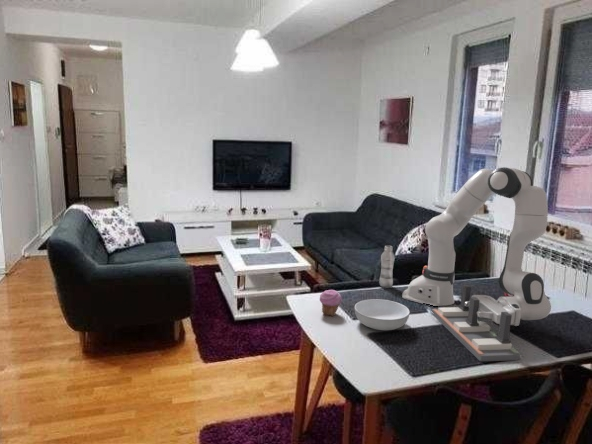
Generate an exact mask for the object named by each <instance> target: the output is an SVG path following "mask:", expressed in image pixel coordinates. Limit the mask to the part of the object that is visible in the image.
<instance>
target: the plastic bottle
mask: <svg viewBox="0 0 592 444" xmlns="http://www.w3.org/2000/svg"><path fill="white" fill-rule="evenodd" d="M393 248H394V247H393V245H388V244H387V245H386V244H385V245H384V251H383V252H382V254H381V255H380V263H381V265H380V267H381V268H380V269H381V270H380V276H379V281H378V284H379V285H380V287H382V288H391V287H392V286H393V284H394V278H393V269H394V263H395V258H396V257H395V254H394V252H393V250H394V249H393Z"/></svg>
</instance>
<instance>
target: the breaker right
mask: <svg viewBox="0 0 592 444" xmlns="http://www.w3.org/2000/svg"><path fill="white" fill-rule="evenodd" d="M511 317H512V315H511V314H509V313H508V312H501V318H500V324H499V326H498V334H497V335H498V336H496V337H495V338H496V339H497V340H499V341H500V342H501V343H511V344H512V340H511V339H509V337H510V332H511V331H510V330H511V326H512V325H511Z"/></svg>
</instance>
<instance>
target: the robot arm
mask: <svg viewBox="0 0 592 444" xmlns="http://www.w3.org/2000/svg"><path fill="white" fill-rule="evenodd" d="M462 185H463V186H461V187H460V189H459V190H458V191H457V192H456V194H454V196H453V197H452V198H451V200H450V202H449V203H448V205H447V207H446V208H445V209H444V211H443V212H441V214H438V215H436V216H434V217H432V218H431V219H430V220H429V221H427V223H426V225H425V228H424V232H425V235H426V237H427V243H428V261H427V265H424V266H423V268H422V274H421V275H420V276H418V277H416V278H414V279H412V280H411V281H410V283H409V284H408V286H407V287H408V288H406V289H404V290H403V292H402V294H401V296H402V299H404V300H407V301H412V302H415V303H419V304H422V305H424V304H423V303H427V304H430V305H433V306H438V307H442V306H443V307H445V306H450V305H453V304H455V298H454V285H453V284H455V275H456V274H455V262H456V251H455V245H454V239H455V237H456V236H457V235H459V234H460V233H461V232H462V231H463V229H464V228H466V226H467V225H468V224H469V222H470V221H471V219H472V218H473V216H474V215H475V214H476V213H477V212H479V210H480V209H481V207H483V205H484V204H485V203H486V202H487V201H488V200H489V198H491V196H493V195H494V194H496V195H497V196H500V197H504V198H508V199H512V200H513V201H514V202H513V203H514V206H515V207H514V208H515V209H514V220H513V225H512V229H511V232H510V234H509V237H508V241H507V245H506V247H507V248H506V252H505V253H506V254H505V259H504V265H503V268H502V270H501V273H500V275H499V278H498V284H499V287H500V289H501V290H502V292H503V293H504V294H505V293H507V294H510V295H514V296H510V297H507V296H499V297H498V298H497V299H495V298H494V297H492V296H490V295H486V294H473V295H472V294H471V297H476V298H477V299H479V300H480V301H479V309H478V311H477V316H478V318H485V319H491V321H493V322H494V323H496V324H497V325H500V318H501V312H508V313H509V314H511V315H512V317H511V325H510V326H515V327H517V326H520V323H521V322H520V321H521V320H523V321H534V320H535V321H536V320H537V321H538V320H542V319H544V318H547V317H548V316H549V315H550V313H551V310H552V304H551V300H549V298H548V297H547V295H546V293H545V292H546V291H545V284H544V279H543V278H542V277H541V276H540V275H539V274H537V273H535V272H529V271H525V270H524V271H523V269H522V268H523V267H522V266H523V261H524V260H523V258H524V254H525V253H524V252H525V249H526V247H527V246H528V245H529V244H530V243H532V242H533V241H536V240H537V239H539V238H541V237H542V236H543V235H544V234H545V232H546V230H547V226H548V218H549V217H548V215H549V214H548V212H549V208H548V198H547V197H548V196H547V193H546V190H545V189H544V188H542V187H540V186H537V185H534V180H533V178H532V176H531V175H530V174H529V173H528V172H526V171H522V170H520V169H517V168H515V167H514V168H511V167H505V166H504V167H498V168H495V169H494V170H492V169H490V168H486V167H485V168H481V169H479V170H478V171H477V172H475V173H474V174H473V175H472V176H471V177H470V178H468V180H466V181H465V183H464V184H462ZM430 305H429V306H430ZM469 305H470V301H466V302H465V306H466V307H469ZM433 306H432V307H433Z"/></svg>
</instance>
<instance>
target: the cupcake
mask: <svg viewBox="0 0 592 444" xmlns="http://www.w3.org/2000/svg"><path fill="white" fill-rule="evenodd" d="M319 301H320V303H321V307H322V308H321V313H323V315H325V316H330V317H333V316H335V314H336V312H337V311H338V310H339V305H340V304H341V303H342V302H343V297H342V296H341V293H339V292H338V291H337V290H335V289H328V290H327V289H326V290H324V291H323V292H322V293H320V295H319Z"/></svg>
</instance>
